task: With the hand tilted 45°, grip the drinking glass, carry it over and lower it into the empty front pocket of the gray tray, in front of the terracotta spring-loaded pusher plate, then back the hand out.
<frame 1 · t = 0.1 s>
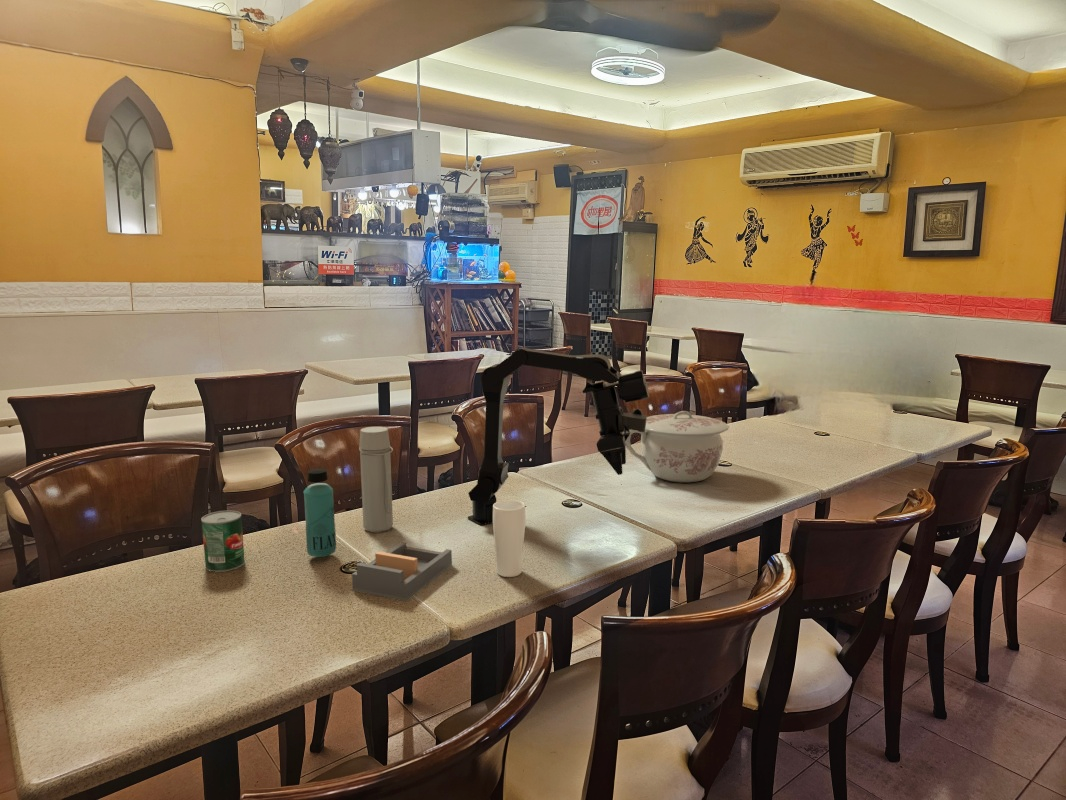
hand: (622, 469, 171), 15 cm above the table, tool pointing down, fingers open, 9 cm apart
beverage bottle: (322, 558, 157), on the table
chamber pot: (679, 477, 219), on the table
water bottle: (380, 530, 175), on the table
canned tomato: (225, 565, 154), on the table
gray tray: (411, 571, 150), on the table
pusher: (396, 567, 144), point 3 cm above the table, slide at 0.0 cm
drinking glass: (509, 573, 150), on the table
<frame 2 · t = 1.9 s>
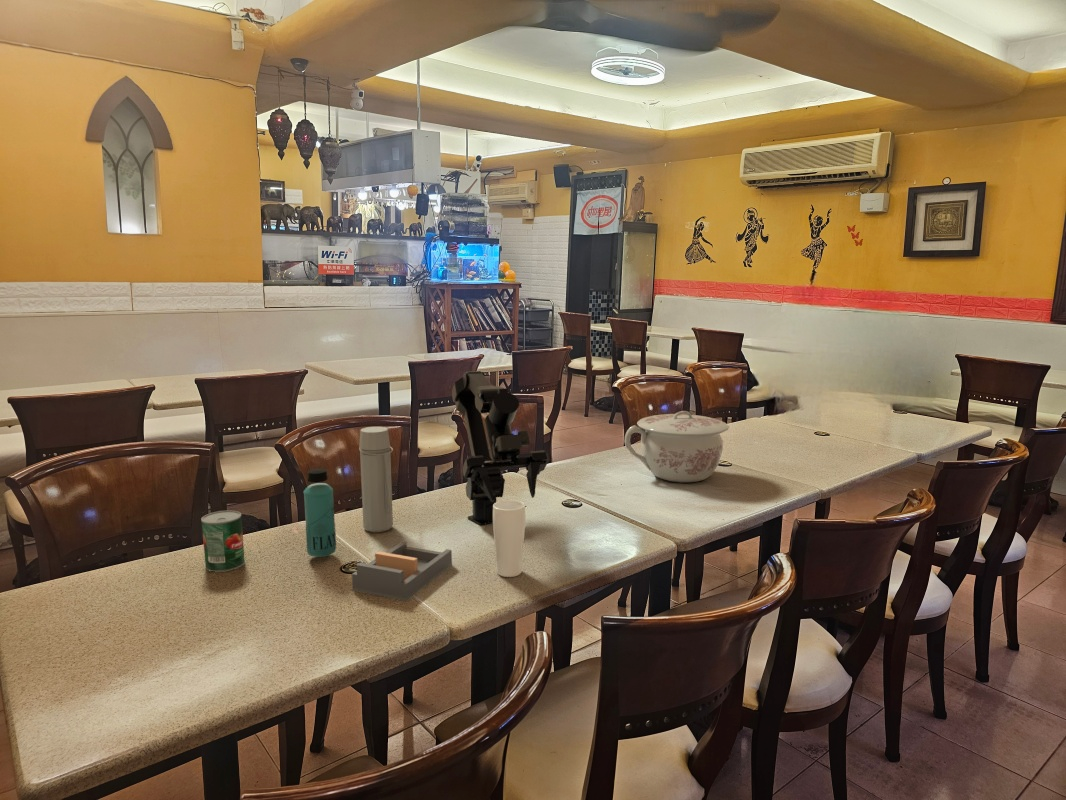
hand: (513, 498, 155), 14 cm above the table, tool tilted 40°, fingers open, 9 cm apart
nothing on the table moved.
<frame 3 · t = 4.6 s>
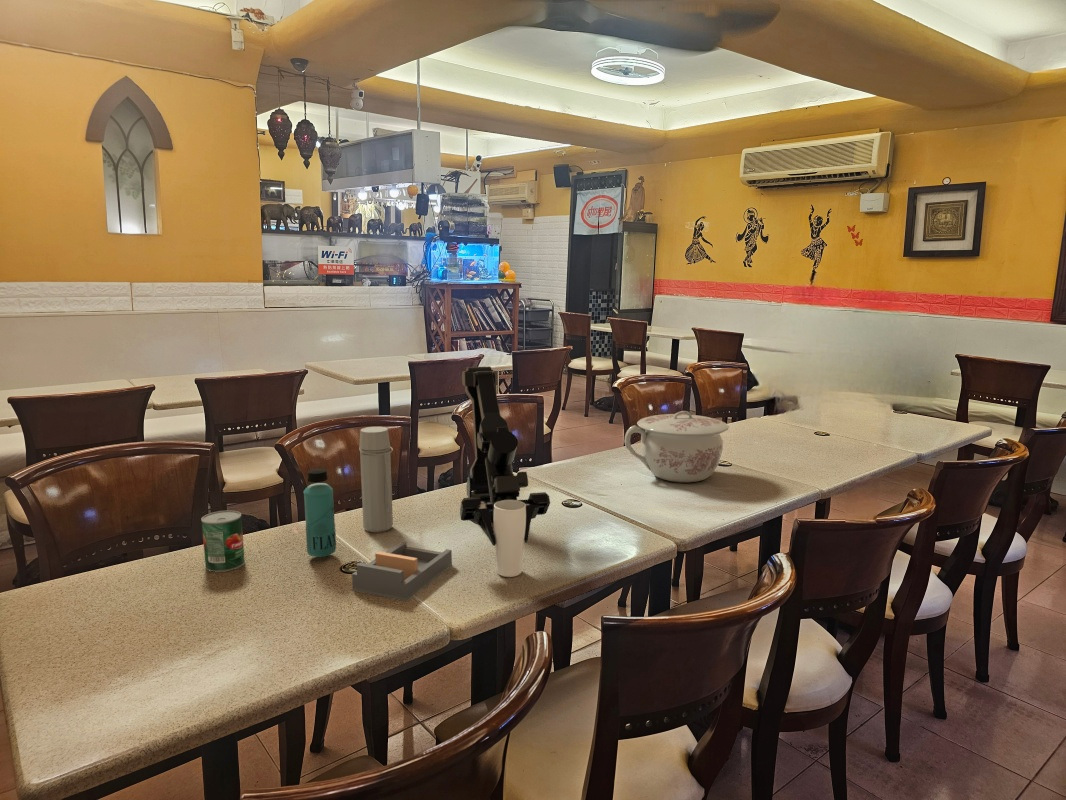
hand: (510, 543, 147), 7 cm above the table, tool tilted 45°, fingers closed on drinking glass, 6 cm apart
drinking glass: (509, 573, 150), on the table, touching gripper
everything else where it was.
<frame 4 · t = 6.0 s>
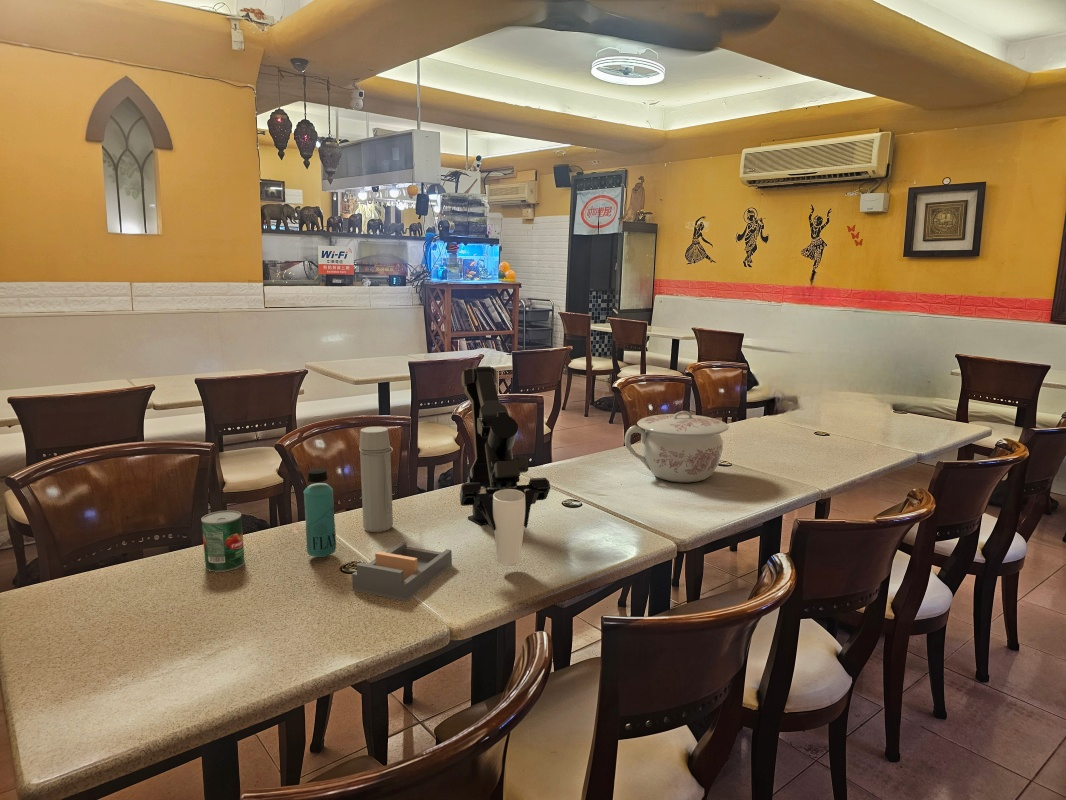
hand: (510, 528, 146), 10 cm above the table, tool tilted 45°, fingers closed on drinking glass, 6 cm apart
drinking glass: (508, 561, 150), point 2 cm above the table, touching gripper
everything else where it was.
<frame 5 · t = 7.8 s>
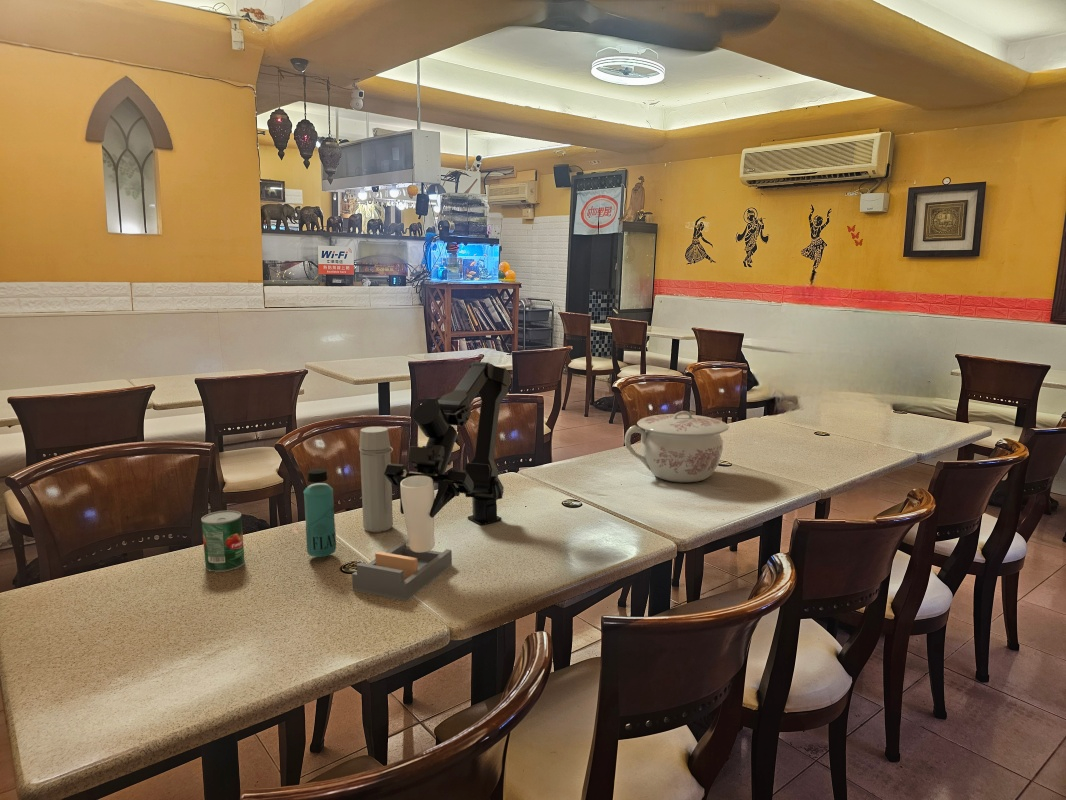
hand: (416, 514, 146), 13 cm above the table, tool tilted 45°, fingers closed on drinking glass, 6 cm apart
drinking glass: (422, 548, 149), point 5 cm above the table, touching gripper
everything else where it was.
when the fingers open (9 cm above the table, at t = 9.6 s): drinking glass stays where it is, resting on gray tray.
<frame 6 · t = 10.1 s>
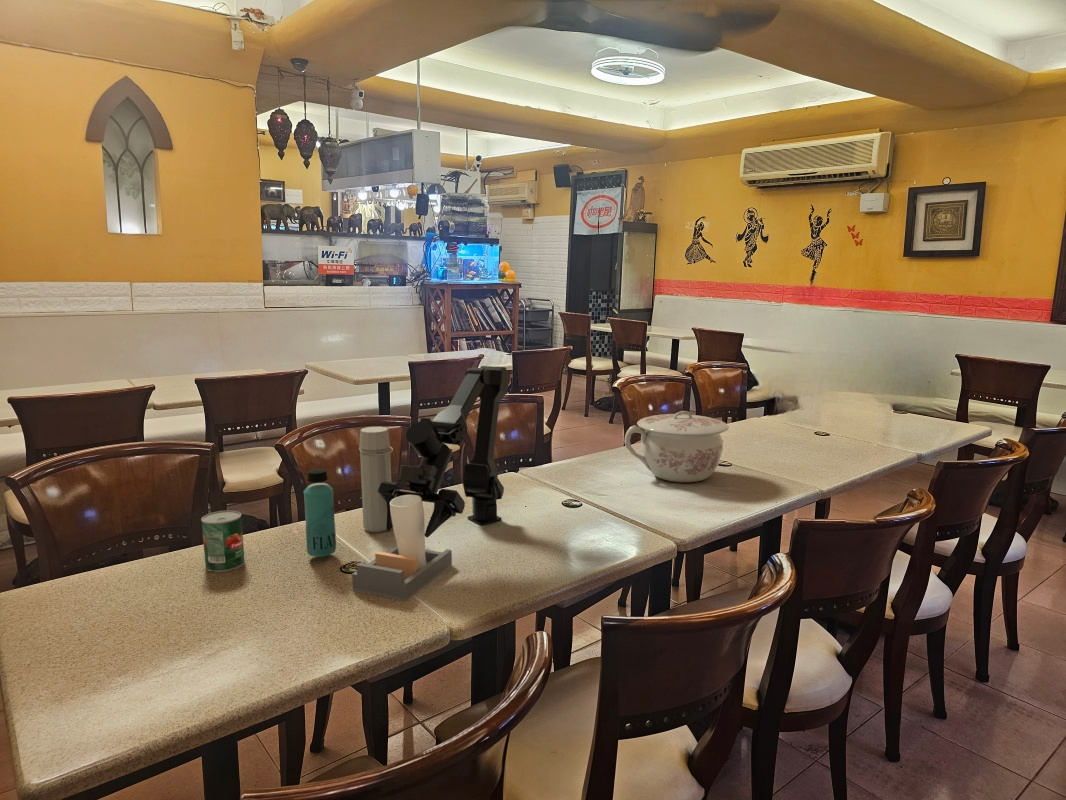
hand: (406, 533, 147), 9 cm above the table, tool tilted 45°, fingers open, 9 cm apart
drinking glass: (413, 567, 151), point 1 cm above the table, touching gripper, gray tray
everything else where it was.
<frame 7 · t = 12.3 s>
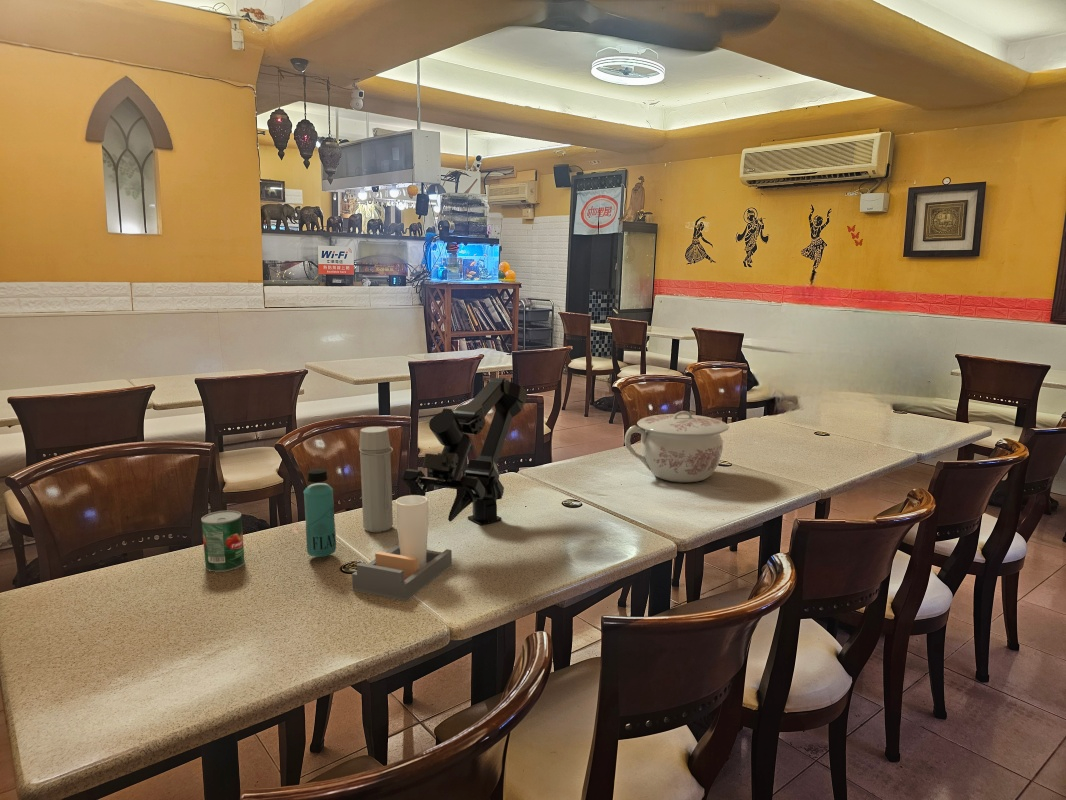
hand: (430, 517, 155), 9 cm above the table, tool tilted 45°, fingers open, 9 cm apart
drinking glass: (413, 568, 151), resting on gray tray
everything else where it was.
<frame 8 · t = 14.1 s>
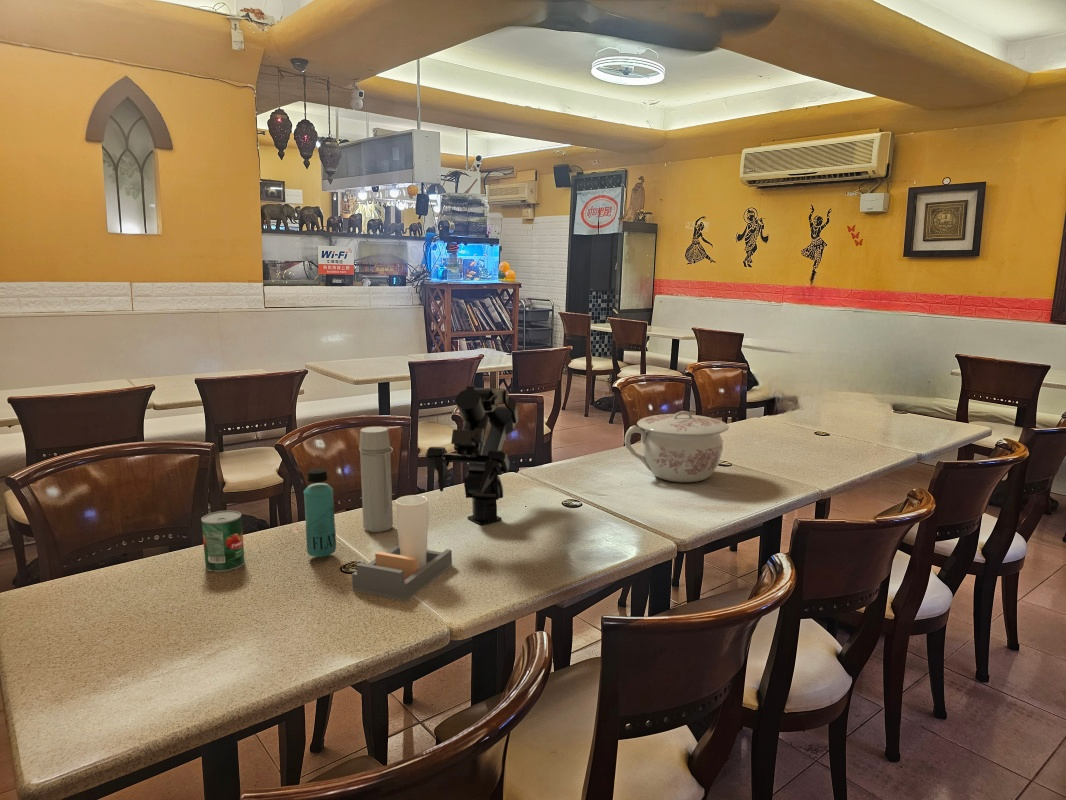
hand: (460, 492, 160), 14 cm above the table, tool tilted 45°, fingers open, 9 cm apart
nothing on the table moved.
at the end: drinking glass 0.9 cm from the gray tray (horizontally); drinking glass tilted 0°; the gripper is holding nothing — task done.
